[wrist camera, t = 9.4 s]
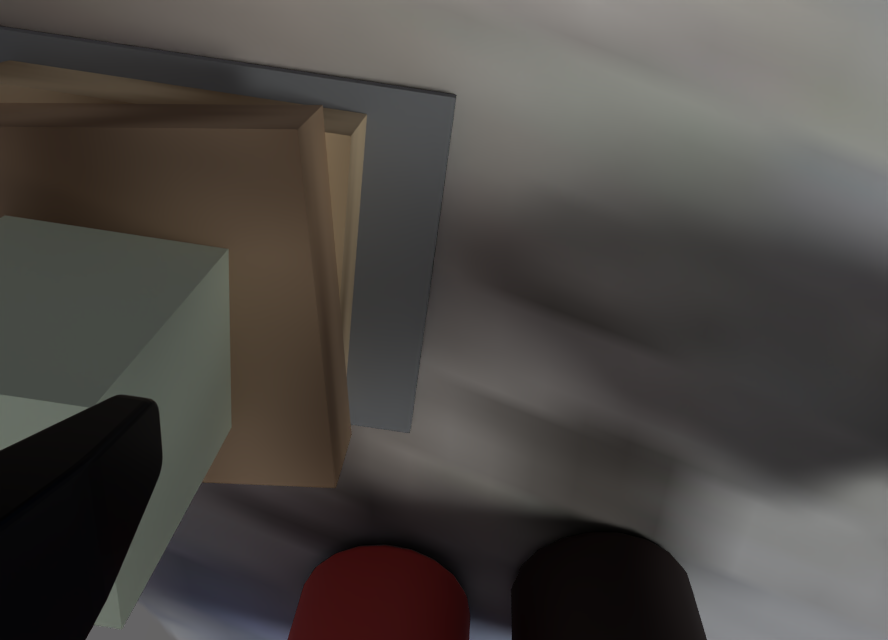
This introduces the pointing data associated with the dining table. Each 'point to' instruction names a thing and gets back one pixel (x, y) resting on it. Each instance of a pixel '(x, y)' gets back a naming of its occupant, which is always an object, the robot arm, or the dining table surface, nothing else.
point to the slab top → (218, 225)
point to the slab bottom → (340, 126)
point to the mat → (381, 205)
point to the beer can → (381, 598)
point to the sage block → (118, 356)
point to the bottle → (604, 592)
